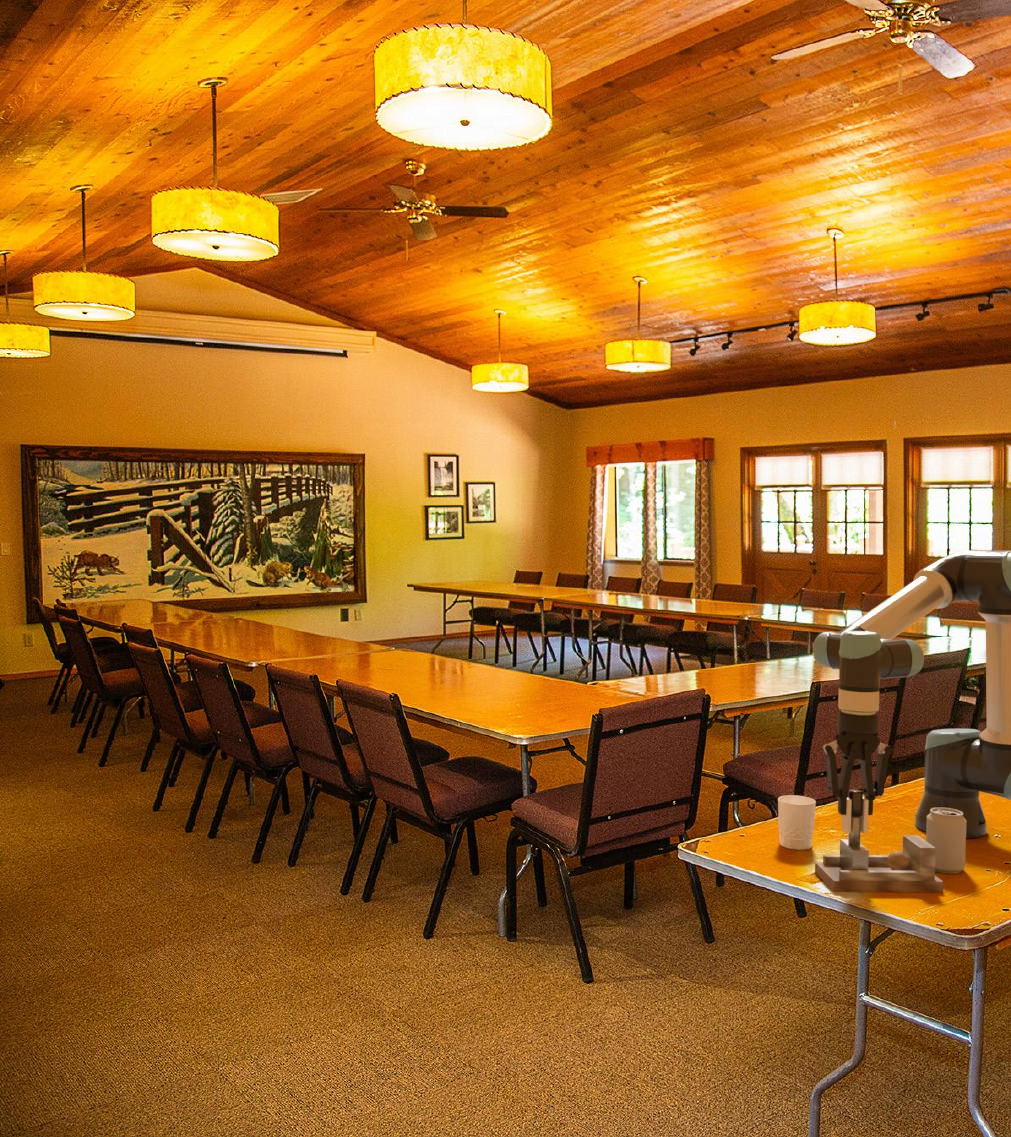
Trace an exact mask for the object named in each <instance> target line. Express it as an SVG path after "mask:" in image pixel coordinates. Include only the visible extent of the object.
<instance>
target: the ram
mask: <svg viewBox="0 0 1011 1137" xmlns="http://www.w3.org/2000/svg"><path fill="white" fill-rule="evenodd" d="M863 796H864V792H863V790H859V789H849V792H848V798H850V799H851V800H852V803H851V833H848V838H840V839H839V855H840V865H841V866H842V867H843V868H844V869H845V870H868V862H869V855H870V850H869V849H867V847H865V846H864V845H863V844H862V843H861V834H862V831H861V816H862V805H863Z"/></svg>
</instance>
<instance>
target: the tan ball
mask: <svg viewBox="0 0 1011 1137" xmlns="http://www.w3.org/2000/svg"><path fill="white" fill-rule="evenodd" d="M888 855H889V856H888V859H887V863H888V866H889V867H890V869H892V870H901V871H905V870H906V869H907V868H908V866H909V859H908V857H907V856H906V855H905V854H904V853H903V851H901V850H900V851H899V850H895V851H892V852H890V853H889V854H888Z"/></svg>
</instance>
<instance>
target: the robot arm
mask: <svg viewBox="0 0 1011 1137" xmlns="http://www.w3.org/2000/svg"><path fill="white" fill-rule="evenodd" d="M960 602H968V603H969V602H971V603H977V613H978V615H979V616H981V618H982V619H984V620H985V677H986V678H985V681H986V682H985V684H986V685H985V687H986V688H985V689H986V690H985V693H986V694H985V695H986V696H985V697H986V698H985V699H986V728H985V729H983V731H981V730H980V729H979V730H978V729H976V728H975V729H974V728H941V729H933V730H931V731H929V732H928V733H927V735H926V737H925V738H926V739H925V747H924V754H925V755H924V788H923V789H924V791H923V794H922V798H921V799H920V802H919V805H918V808H917V810H916V813H915V816H914V818H915V820H914V821H915V822H914V825H915V827H916V828H917V829H919V830H920V831H923V832H926V825H927V815H928V814H930V813H931V811H930V809H932V808H938V807H941V808H951V809H956V810H959V811H961V812H962V813H963V815H962V816H963V817H964V818H965V819H966V839H973V838H975V839H976V838H981V837H984V836H985V835H987V825H988V824H987V821H986V818H985V813H984V810H983V807H982V804H981V801H980V792H981V793H984V794H989V795H993V796H996V797H997V796H998V797H1001V798H1005V799H1006V800H1009V801H1011V550H997V549H996V550H991V549H990V550H989V549H988V550H986V549H984V550H983V549H966V550H965V549H964V550H961V551H960V550H959V551H957V552H954V553H951V554H948V555H946V556H944V557H942V558H940V559H938V560H935V561H934V562H932V563H930V564H928V565H927V566H925V567H923V568H922V569H920V570H919V571H918V572H916V573H915V575H914V577H913V581H911V582H910V583H908V584H907V585H905V586H904V587H902V588H901V589H900V590H898V591H897V592H896V593H894V594H892V595H891V596H890V597H888V598H887V599H885V600H884V601H882V602H881V603H880V604H878V605H876V606H875V607H874V608H872V609H871V610H869V611H868V612H866V613H864V614H863V615H862V616H861V617H859V618H857V619H856V620H854V621H853V622H852V623H850V624H849V625H847V626H846V627H844V628H842V629H841V630H839V631H838V632H835V631H824V632H820V633H819V634H818V635H817V636H816V637H815V639H814V641H813V644H812V654H813V657H814V660H815V662H816V663H817V664H818V665H820V666H822V667H825V668H830V669H832V670H838V671H839V672H838V674H839V676H838V678H839V679H838V681H839V682H838V698H837V702H838V704H837V707H838V709H839V711H838V712H837V725H836V727H837V734H836V735H835V737H834V740H833V741H830V742H829V743H826V742H825V743H823V744H821V745H822V746H821V749H822V750H823V753H824V754H825V762H826V764H825V765H826V776H827V778H826V779H827V787H828V788H827V789H828V792H829V793H830V794H832V795H833V796H835V797H837V812H838V814H839V815H841V816H842V817H841V830H842V831H844V832H845V833H846V834H849V833H851V803H852V800H851V799H850V798H849V790H850V785H851V780H852V773H853V766H854V765H855V761H856V760H859V762H860V771H861V781H862V782H861V783H862V791H863V805H862V816H861V833H862V834H868V832H869V831H868V830H869V828H868V827H869V816H872V815H873V812H874V801H875V800H876V799H877V797H883V795H884V793H885V786H886V778H887V771H888V765H889V758H890V756H891V755H892V753H893V751H894V750H893V747H892V746H890V745H888V744H886V743H882V742H881V739H880V737H879V719H880V718H879V716H880V715H879V714H878V713H877V712H878V711H879V710H880V683H881V682H880V681H881V680H882V679H883V680H886V679H896V678H897V679H898V678H902V679H903V678H907V677H912V676H915V675H917V674H919V673H920V671H921V670H922V669H923V666H924V663H925V653H924V651H923V648H922V647H921V646H920V644H918V642H916V640H912V639H907V638H896V637H897V636H898V635H900V634H901V633H903V632H905V631H906V630H907V629H908V628H910V627H911V626H913V625H915V624H916V623H917V622H918V621H920V620H921V619H922V618H924V617H925V616H927V615H928V614H930V613H931V612H932V611H934V610H935V609H936V610H938V609H944V608H946V607H948V606H949V605H950V604H953V603H960ZM895 638H896V639H895ZM837 748H839V751H840V752H841V753H842V756H841V761H842V763H841V768H840V769H841V770H840V774H839V778H838V767H837V765H838V764H837V756H836V753H838V752H837ZM876 751H877V756H876V765H875V772H874V779H873V769H872V763H873V762H872V755H873V754H874V753H875V752H876ZM838 779H839V781H838Z"/></svg>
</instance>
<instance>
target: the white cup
mask: <svg viewBox="0 0 1011 1137" xmlns="http://www.w3.org/2000/svg"><path fill="white" fill-rule="evenodd" d="M816 802H817V801H816V800H815V798H814V799H813V798H811V797H809V796H808V797H807V796H803V795H795V794H793V795H792V794H787V795H781V796H778V798H777V811H778V813H777V814H778V819H777V820H778V822H777V823H778V833H779V844H780V846H782V847H783V848H786V849H790V850H795V851H796V850H797V851H798V850H799V851H804V850H809V849H811V848H812V846H813V835H814V829H815V817H816V805H817V804H816Z"/></svg>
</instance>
